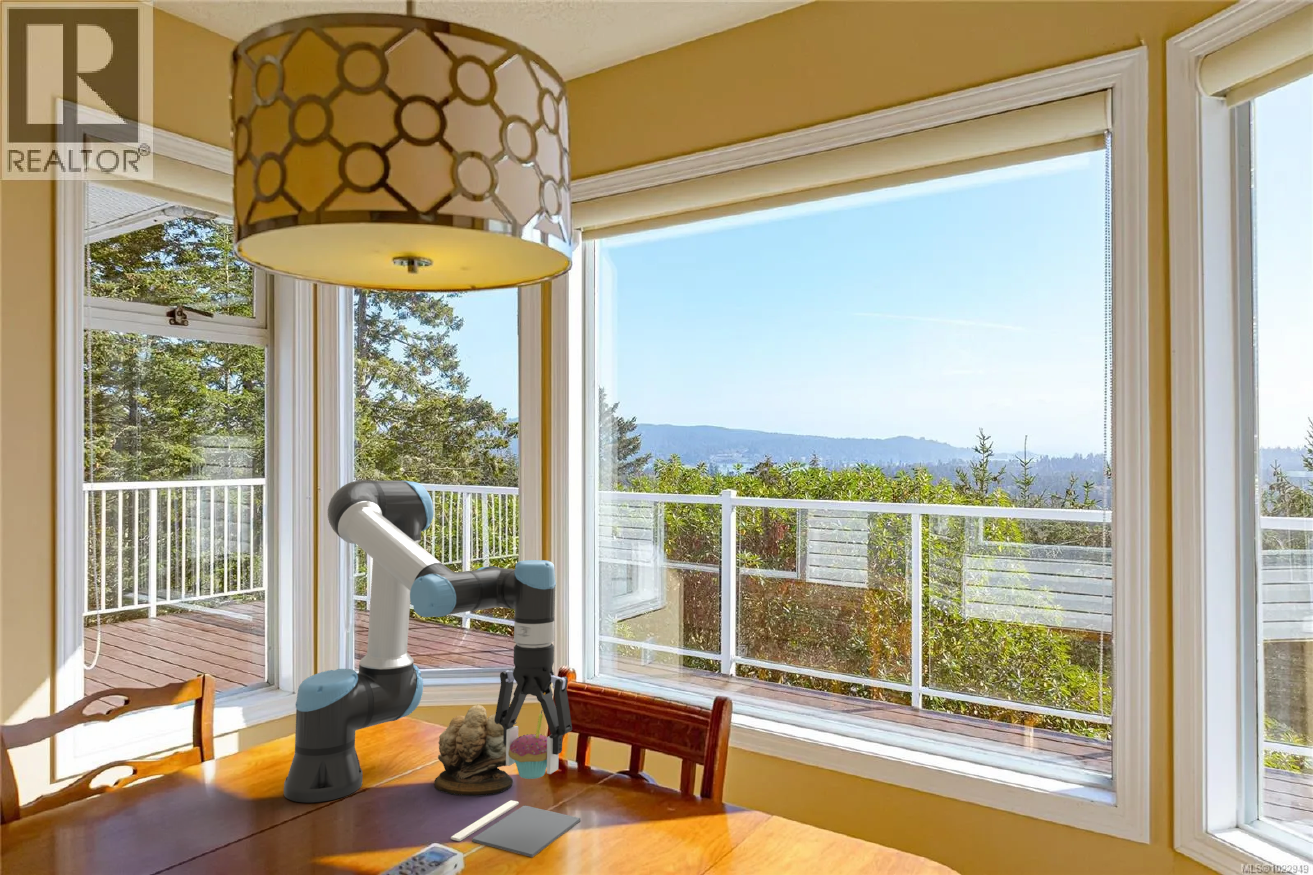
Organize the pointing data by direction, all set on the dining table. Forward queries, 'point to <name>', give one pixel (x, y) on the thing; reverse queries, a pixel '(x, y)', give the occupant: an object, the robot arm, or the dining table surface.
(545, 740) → the cupcake
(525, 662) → the robot arm
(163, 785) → the dining table surface
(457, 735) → the owl figurine
